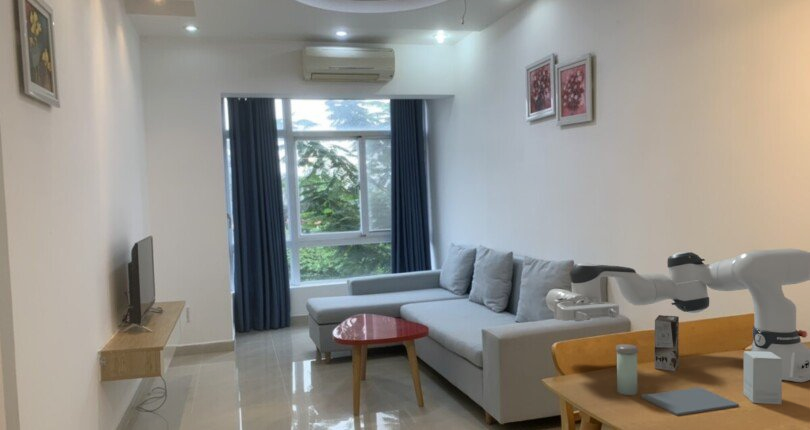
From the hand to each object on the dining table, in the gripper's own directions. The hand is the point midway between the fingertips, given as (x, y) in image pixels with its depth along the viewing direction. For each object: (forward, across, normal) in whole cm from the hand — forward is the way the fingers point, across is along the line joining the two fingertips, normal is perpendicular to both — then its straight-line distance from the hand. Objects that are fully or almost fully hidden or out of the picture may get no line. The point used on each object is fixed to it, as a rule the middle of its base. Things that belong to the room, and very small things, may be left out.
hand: (601, 316), depth 182 cm
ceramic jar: (+12, 0, -20) cm, 23 cm away
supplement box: (+29, -31, -20) cm, 47 cm away
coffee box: (-4, -27, -20) cm, 34 cm away
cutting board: (+24, -11, -20) cm, 33 cm away
